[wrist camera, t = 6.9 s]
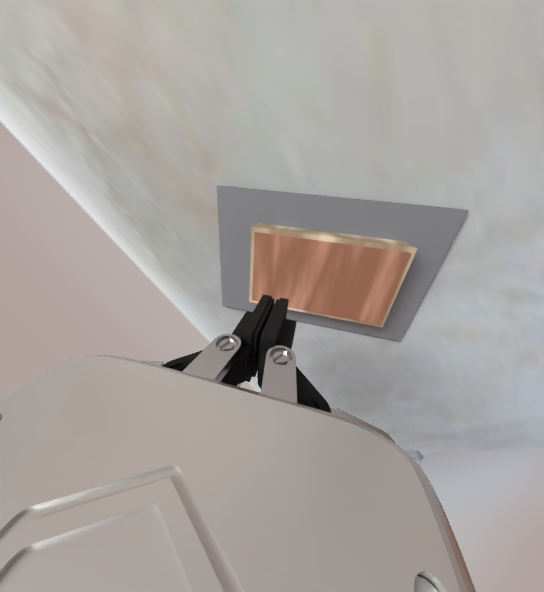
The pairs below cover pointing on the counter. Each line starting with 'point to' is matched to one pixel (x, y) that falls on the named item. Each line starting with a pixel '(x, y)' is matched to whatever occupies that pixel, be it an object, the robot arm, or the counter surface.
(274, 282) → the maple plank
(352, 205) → the rubber mat
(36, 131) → the counter surface
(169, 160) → the counter surface
